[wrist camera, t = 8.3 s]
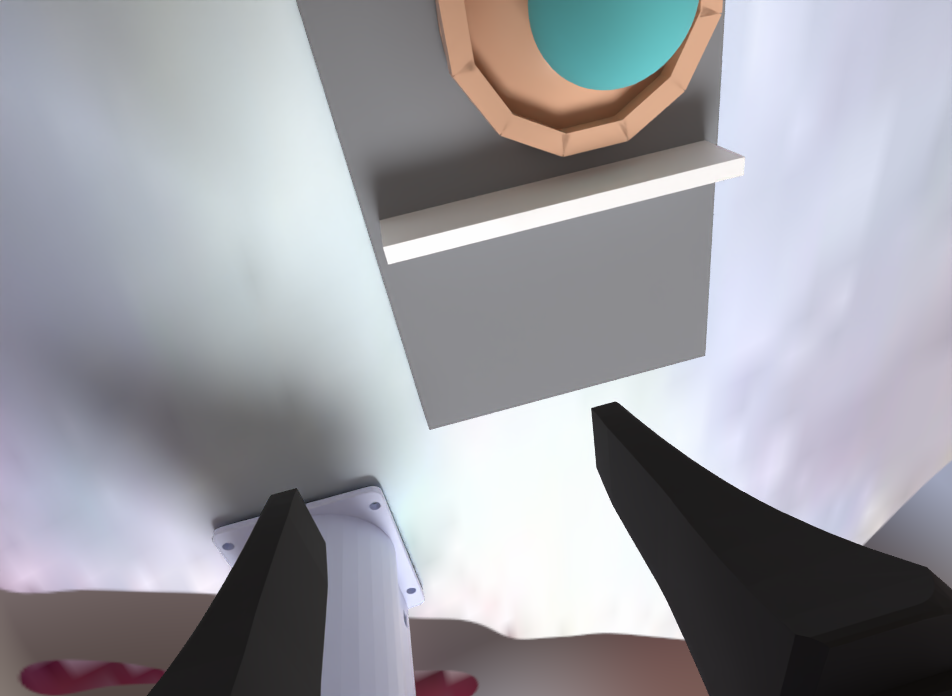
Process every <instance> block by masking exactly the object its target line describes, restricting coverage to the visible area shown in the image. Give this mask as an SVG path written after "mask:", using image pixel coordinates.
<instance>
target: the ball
mask: <svg viewBox="0 0 952 696" xmlns="http://www.w3.org/2000/svg"><path fill="white" fill-rule="evenodd" d="M698 3H699V0H528V15H529V22H530V27H531V31H532V34H533V38H534V41H535V43H536V45H537V47H538V50H539V51H540V53H541V54H542V56H543V58H544V59H545V60H546V62H547V63H548V64H549V65H550V67H551V68H552V69H553V70H554V71H555V72H556V73H558V74H559V75H560V76H561V77H563V78H564V79H566V80H567V81H569V82H571V83H573V84H576V85H578V86H580V87H584V88H587V89H594V90H614V89H620V88H624V87H627V86H630V85H633V84H636V83H638V82H640V81H642V80H644V79H645V78H647V77H648V76H650V75H652V74H653V73H655V72H656V71H657V70H658V69H660V68H661V67H662V66H663V65H664V64H665V63H666V62H667V61H668V60H669V59H670V58H671V57H672V56H673V54H674V53H675V52H676V50H677V49H678V48H679V47H680V45H681V44H682V42H683V40H684V39H685V37H686V35H687V33H688V31H689V29H690V27H691V25H692V22H693V20H694V17H695V14H696V11H697V7H698Z"/></svg>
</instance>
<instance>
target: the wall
mask: <svg viewBox="0 0 952 696" xmlns="http://www.w3.org/2000/svg"><path fill="white" fill-rule="evenodd" d="M744 165H745V157H744V156H742V155H739V154H737V153H734V152H732V151H730V150H727V149H725V148H722V147H720V146H717V145H715V144H713V143H710V142H708V141H705V140H703V141H699V142H695V143H691V144H687V145H683V146H679V147H675V148H671V149H667V150H663V151H659V152H654V153H650V154H646V155H642V156H638V157H634V158H630V159H626V160H622V161H618V162H614V163H610V164H606V165H602V166H598V167H594V168H590V169H586V170H581V171H577V172H573V173H569V174H565V175H561V176H557V177H553V178H549V179H545V180H541V181H537V182H533V183H529V184H525V185H521V186H517V187H513V188H509V189H504V190H500V191H496V192H492V193H488V194H484V195H480V196H476V197H472V198H468V199H464V200H460V201H456V202H452V203H448V204H444V205H440V206H436V207H431V208H427V209H423V210H419V211H415V212H411V213H407V214H403V215H399V216H395V217H391V218H387V219H383V220H380V228H381V235H382V243H383V249H384V252H385V256H386V259H387V262H388V264H392V263H396V262H400V261H404V260H408V259H412V258H416V257H420V256H424V255H428V254H432V253H436V252H440V251H444V250H448V249H452V248H456V247H460V246H464V245H468V244H472V243H476V242H480V241H484V240H488V239H492V238H496V237H500V236H504V235H508V234H512V233H516V232H520V231H524V230H528V229H532V228H536V227H540V226H544V225H547V224H551V223H555V222H559V221H563V220H567V219H571V218H575V217H579V216H583V215H587V214H591V213H595V212H599V211H603V210H607V209H611V208H615V207H619V206H623V205H627V204H631V203H635V202H639V201H643V200H647V199H651V198H655V197H659V196H663V195H667V194H671V193H675V192H679V191H683V190H687V189H691V188H695V187H699V186H703V185H707V184H711V183H715V182H719V181H722V180H726V179H730V178H734V177H738V176H742V175H744Z"/></svg>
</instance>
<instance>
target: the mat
mask: <svg viewBox="0 0 952 696" xmlns="http://www.w3.org/2000/svg"><path fill="white" fill-rule="evenodd" d="M296 1H297V5H298V8H299V11H300V14H301V17H302V21H303V24H304V27H305V30H306V34H307V37H308V40H309V43H310V46H311V50H312V53H313V56H314V59H315V63H316V66H317V69H318V72H319V75H320V79H321V82H322V85H323V88H324V92H325V95H326V98H327V101H328V104H329V108H330V111H331V114H332V117H333V121H334V124H335V127H336V130H337V133H338V137H339V140H340V143H341V146H342V150H343V153H344V156H345V159H346V162H347V166H348V169H349V172H350V175H351V179H352V182H353V185H354V188H355V191H356V195H357V198H358V201H359V204H360V208H361V211H362V214H363V217H364V220H365V224H366V227H367V230H368V233H369V237H370V240H371V243H372V246H373V249H374V253H375V256H376V259H377V262H378V266H379V269H380V272H381V275H382V278H383V282H384V285H385V288H386V291H387V295H388V298H389V301H390V304H391V307H392V311H393V314H394V317H395V320H396V324H397V327H398V330H399V333H400V336H401V340H402V343H403V346H404V349H405V353H406V356H407V359H408V362H409V365H410V369H411V372H412V375H413V378H414V382H415V385H416V388H417V391H418V394H419V398H420V401H421V404H422V407H423V411H424V414H425V417H426V420H427V423H428V427H429V430H431V429H435V428H439V427H442V426H446V425H450V424H453V423H457V422H461V421H465V420H468V419H472V418H476V417H479V416H483V415H487V414H490V413H494V412H498V411H502V410H505V409H509V408H513V407H516V406H520V405H524V404H528V403H531V402H535V401H539V400H542V399H546V398H550V397H554V396H557V395H561V394H565V393H568V392H572V391H576V390H580V389H583V388H587V387H591V386H594V385H598V384H602V383H606V382H609V381H613V380H617V379H620V378H624V377H628V376H631V375H635V374H639V373H643V372H646V371H650V370H654V369H657V368H661V367H665V366H669V365H672V364H676V363H680V362H683V361H687V360H691V359H695V358H698V357H702V356H705V350H706V333H707V315H708V298H709V280H710V262H711V245H712V227H713V209H714V192H715V183H711V184H707V185H703V186H699V187H695V188H691V189H687V190H683V191H679V192H675V193H671V194H667V195H663V196H659V197H655V198H651V199H647V200H643V201H639V202H635V203H631V204H627V205H623V206H619V207H615V208H611V209H607V210H603V211H599V212H595V213H591V214H587V215H583V216H579V217H575V218H571V219H567V220H563V221H559V222H555V223H551V224H547V225H544V226H540V227H536V228H532V229H528V230H524V231H520V232H516V233H512V234H508V235H504V236H500V237H496V238H492V239H488V240H484V241H480V242H476V243H472V244H468V245H464V246H460V247H456V248H452V249H448V250H444V251H440V252H436V253H432V254H428V255H424V256H420V257H416V258H412V259H408V260H404V261H400V262H396V263H392V264H388V262H387V259H386V256H385V252H384V249H383V243H382V235H381V228H380V220H383V219H387V218H391V217H395V216H399V215H403V214H407V213H411V212H415V211H419V210H423V209H427V208H431V207H436V206H440V205H444V204H448V203H452V202H456V201H460V200H464V199H468V198H472V197H476V196H480V195H484V194H488V193H492V192H496V191H500V190H504V189H509V188H513V187H517V186H521V185H525V184H529V183H533V182H537V181H541V180H545V179H549V178H553V177H557V176H561V175H565V174H569V173H573V172H577V171H581V170H586V169H590V168H594V167H598V166H602V165H606V164H610V163H614V162H618V161H622V160H626V159H630V158H634V157H638V156H642V155H646V154H650V153H654V152H659V151H663V150H667V149H671V148H675V147H679V146H683V145H687V144H691V143H695V142H699V141H703V140H705V141H708V142H710V143H713V144H715V145H717V139H718V121H719V104H720V86H721V69H722V51H723V33H724V16H725V0H723V7H722V13H720V14H722V15H721V17H720V19H719V21H718V23H717V25H716V28H715V30H714V32H713V34H712V36H711V38H710V40H709V42H708V44H707V46H706V48H705V51H704V53H703V55H702V57H701V59H700V61H699V63H698V65H697V67H696V69H695V72H694V74H693V76H692V78H691V80H690V82H689V84H688V86H687V88H686V90H684V91H685V92H684V93H682V94H681V95H680V96H679V97H678V98H677V99H676V100H674V101H673V102H672V103H671V104H670V105H669V106H668V107H666V108H665V109H664V110H663V111H662V112H661V113H660V114H658V115H657V116H656V117H655V118H654V119H653V120H652V121H651V122H649V123H648V124H647V125H646V126H645V127H644V128H643V129H641V130H640V131H639V132H638V133H637V134H636V135H635V136H633V137H632V138H631V139H630V140H628V141H626V142H622V143H618V144H614V145H610V146H606V147H602V148H598V149H594V150H589V151H585V152H581V153H577V154H573V155H569V156H565V157H563V156H562V157H561V156H559V155H556V154H553V153H550V152H547V151H544V150H541V149H538V148H535V147H532V146H529V145H526V144H523V143H520V142H517V141H514V140H511V139H509V138H506V137H503V136H500V135H499V134H498V133H497V132H496V131H495V130H494V129H493V128H492V126H491V125H490V124H489V123H488V121H487V120H486V119H485V118H484V116H483V115H482V114H481V113H480V111H479V110H478V109H477V108H476V107H475V106H474V104H473V103H472V102H471V101H470V100H469V98H468V97H467V96H466V94H465V93H464V92H463V90H462V89H461V88H460V87H459V85H458V84H457V83H456V82H455V80H454V79H453V78H452V77H451V75H450V73H449V70H448V65H447V60H446V55H445V52H444V49H443V45H442V41H441V37H440V33H439V28H438V20H437V13H436V2H435V0H296Z"/></svg>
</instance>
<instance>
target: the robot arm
mask: <svg viewBox="0 0 952 696" xmlns="http://www.w3.org/2000/svg"><path fill="white" fill-rule="evenodd" d="M591 411H592V422H593V433H594V445H595V456H596V467H597V470H598V472H599V475H600V477H601V479H602V482H603V484H604V487H605V489H606V491H607V493H608V496H609V498H610V500H611V503H612V505H613V507H614V508H615V510H616V512H617V514H618V515H619V517H620V519H621V521H622V522H623V524H624V526H625V528H626V529H627V531H628V533H629V535H630V536H631V538H632V540H633V541H634V543H635V545H636V547H637V548H638V550H639V552H640V554H641V555H642V557H643V559H644V560H645V562H646V564H647V566H648V567H649V569H650V571H651V573H652V574H653V576H654V578H655V579H656V581H657V583H658V585H659V587H660V589H661V590H662V592H663V594H664V596H665V598H666V600H667V602H668V604H669V606H670V608H671V611H672V613H673V615H674V617H675V619H676V622H677V624H678V626H679V628H680V630H681V632H682V635H683V637H684V639H685V641H686V643H687V646H688V648H689V650H690V653H691V655H692V657H693V659H694V662H695V664H696V666H697V668H698V671H699V673H700V675H701V677H702V680H703V682H704V684H705V686H706V689H707V691H708V694H709V696H952V589H951V588H950V587H949V586H947V584H945V583H944V582H943V581H942V580H941V579H940V578H938V577H937V576H936V575H935V574H934V573H933V572H932V571H930V570H929V569H928V568H927V567H924V566H921V565H918V564H915V563H912V562H909V561H906V560H903V559H900V558H897V557H894V556H891V555H888V554H885V553H882V552H879V551H876V550H873V549H870V548H867V547H864V546H862V545H859V544H856V543H854V542H851V541H849V540H846V539H844V538H841V537H838V536H836V535H833V534H831V533H828V532H826V531H824V530H821V529H819V528H816V527H814V526H812V525H810V524H808V523H805V522H803V521H801V520H799V519H797V518H794V517H792V516H790V515H788V514H786V513H783V512H781V511H779V510H777V509H775V508H773V507H771V506H769V505H767V504H765V503H763V502H761V501H759V500H758V499H756V498H754V497H752V496H750V495H748V494H747V493H745V492H743V491H741V490H739V489H738V488H736V487H734V486H733V485H731V484H729V483H728V482H726V481H724V480H723V479H721V478H719V477H718V476H716V475H715V474H713V473H712V472H710V471H708V470H707V469H705V468H704V467H702V466H701V465H699V464H698V463H696V462H695V461H693V460H692V459H690V458H689V457H687V456H686V455H685V454H683V453H682V452H681V451H679V450H678V449H676V448H675V447H674V446H672V445H671V444H669V443H668V442H667V441H665V440H664V439H663V438H661V437H660V436H659V435H657V434H656V433H655V432H654V431H652V430H651V429H650V428H648V427H647V426H646V425H645V424H643V423H642V422H641V421H640V420H638V419H637V418H636V417H635V416H633V415H632V414H631V413H630V412H629V411H627V410H626V409H625V408H624V407H623V406H621V405H620V404H619V403H617V402H612V403H608V404H605V405H601V406H597V407H594V408H591ZM373 502H378V503H376V504H372V503H373ZM212 540H213V543H214V544H215V545H216V547H217V548H218V550H219V551H220V552H221V554H222V555H223V557H224V558H225V559H226V561H227V562H228V564H229V565H230V566H231V568H232V569H231V571H230V573H229V575H228V577H227V578H226V580H225V582H224V584H223V585H222V587H221V589H220V590H219V592H218V594H217V595H216V597H215V599H214V600H213V602H212V603H211V605H210V607H209V608H208V610H207V612H206V613H205V615H204V617H203V618H202V620H201V621H200V623H199V625H198V626H197V628H196V629H195V631H194V632H193V634H192V635H191V637H190V638H189V640H188V641H187V643H186V644H185V645H184V647H183V648H182V650H181V651H180V653H179V654H178V656H177V657H176V658H175V660H174V661H173V662H172V664H171V665H170V667H169V668H168V669H167V671H166V672H165V673H164V675H163V676H162V677H161V678H160V680H159V681H158V682H157V684H156V685H155V686H154V687H153V689H152V690H151V691H150V692H149V694H148V695H147V696H416V693H415V682H414V671H413V660H412V649H411V639H410V628H409V617H408V608H412V607H415V606H418V605H421V604H422V603H423V602H424V592H423V590H422V587H421V585H420V583H419V580H418V578H417V575H416V573H415V570H414V568H413V565H412V563H411V561H410V558H409V556H408V553H407V551H406V548H405V546H404V543H403V541H402V538H401V536H400V534H399V531H398V529H397V526H396V524H395V521H394V519H393V516H392V514H391V511H390V509H389V507H388V504H387V502H386V499H385V497H384V494H383V492H382V490H381V489H380V488H379V487H376V486H369V487H365V488H361V489H358V490H354V491H350V492H347V493H343V494H339V495H336V496H332V497H328V498H325V499H321V500H318V501H314V502H310V503H307V504H305V503H304V501H303V499H302V497H301V495H300V493H299V492H298V490H297V488H296V489H292V490H288V491H285V492H281V493H277V494H274V495H271V496H270V498H269V499H268V501H267V503H266V505H265V507H264V509H263V511H262V513H261V515H260V516H259V517H255V518H252V519H248V520H244V521H241V522H237V523H233V524H230V525H226V526H222V527H219V528H217V529H216V530H215V531H214V534H213V538H212ZM229 543H230V544H229Z"/></svg>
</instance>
